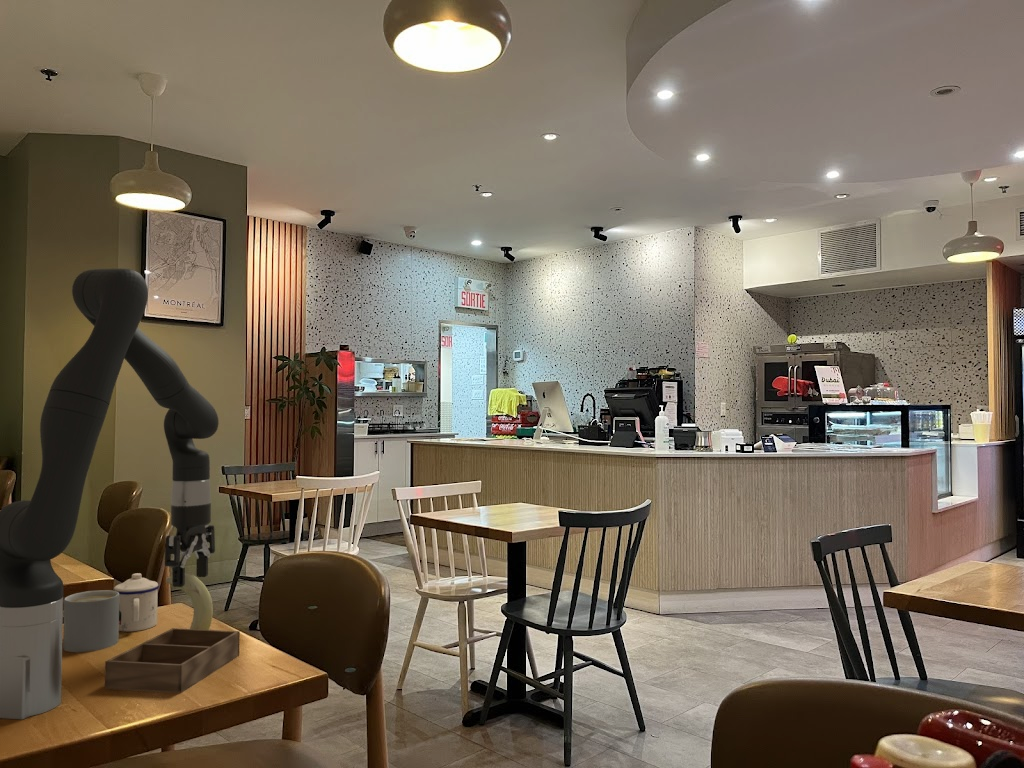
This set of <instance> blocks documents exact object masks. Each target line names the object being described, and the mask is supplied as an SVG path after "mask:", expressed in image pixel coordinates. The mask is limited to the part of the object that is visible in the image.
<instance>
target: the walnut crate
mask: <svg viewBox="0 0 1024 768" xmlns="http://www.w3.org/2000/svg"><path fill="white" fill-rule="evenodd" d="M240 634H241V633H240V631H238V630H236V631H235V630H215V629H209V630H198V629H190V628H170V629H168V630H166V631H164V632H162V633H160V634H158V635H156V636H154V637H152V638H150V639H148V640H146V641H144V642H142V643H139V644H138V645H136V646H134V647H132V648H130V649H128V650H126V651H124V652H122V653H119V654H118V655H116V656H113V657H112V658H110V659H107V660H106V661H105V662H104V663H105V665H104V669H105V670H104V690H115V691H116V690H117V691H134V692H136V691H137V692H152V693H153V692H155V693H173V694H182V693H184V692H185V691H187V690H188V689H190V688H191V687H193V686H194V685H196V684H198V683H200V682H201V681H203V680H204V679H206V678H207V677H209V676H210V675H212V674H213V673H215V672H217V671H218V670H220V669H221V668H223V667H224V666H225V665H227V664H229V663H230V662H232V661H234V660H235V659H237V658H238V657H239V656H240ZM233 659H234V660H233Z"/></svg>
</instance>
